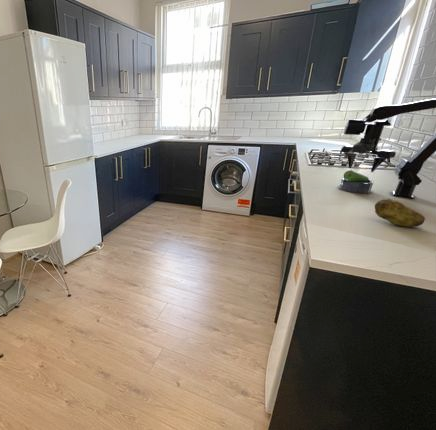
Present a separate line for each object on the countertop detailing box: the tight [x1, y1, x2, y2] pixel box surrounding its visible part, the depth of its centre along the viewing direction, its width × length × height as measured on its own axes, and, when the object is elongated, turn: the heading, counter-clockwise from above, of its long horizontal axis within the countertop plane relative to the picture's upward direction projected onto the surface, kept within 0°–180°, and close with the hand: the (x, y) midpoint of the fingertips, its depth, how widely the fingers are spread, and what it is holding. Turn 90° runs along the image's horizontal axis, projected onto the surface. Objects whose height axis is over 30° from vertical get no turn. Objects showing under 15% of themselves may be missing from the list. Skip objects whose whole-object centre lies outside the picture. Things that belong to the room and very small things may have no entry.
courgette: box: [343, 169, 370, 183], centre depth 131 cm, size 4×4×14 cm
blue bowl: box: [338, 176, 374, 194], centre depth 133 cm, size 12×12×5 cm
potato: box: [374, 198, 426, 228], centre depth 96 cm, size 8×13×8 cm, turn 38°
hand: (360, 170), depth 131 cm, fingers open, 9 cm apart
